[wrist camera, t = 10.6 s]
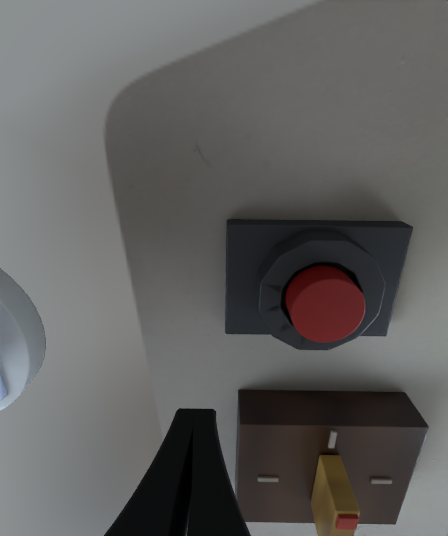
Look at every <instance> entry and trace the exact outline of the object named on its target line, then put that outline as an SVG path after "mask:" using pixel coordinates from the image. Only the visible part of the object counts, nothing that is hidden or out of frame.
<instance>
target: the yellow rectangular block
mask: <svg viewBox="0 0 448 536" xmlns="http://www.w3.org/2000/svg"><path fill="white" fill-rule="evenodd" d="M311 508H312V512H313V517H314V521H315V525H316V530H317V534H318V536H353V535H354V531H355V530H356V527H357V524H358V521H359V518H358V517H359V514H360V510H359V508H358V505H357V502H356V499H355V496H354V493H353V491H352V488H351V485H350V482H349V479H348V476H347V474H346V471H345V468H344V465H343V462H342V459H341V457H340V455H320V456H319V461H318V466H317V472H316V477H315V482H314V487H313V492H312V498H311Z"/></svg>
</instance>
